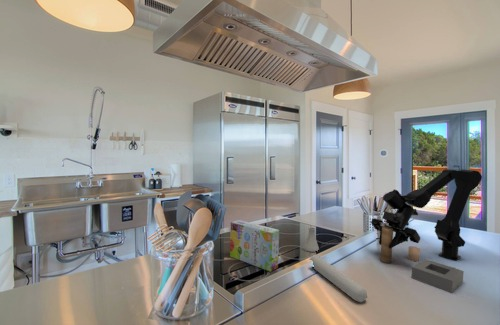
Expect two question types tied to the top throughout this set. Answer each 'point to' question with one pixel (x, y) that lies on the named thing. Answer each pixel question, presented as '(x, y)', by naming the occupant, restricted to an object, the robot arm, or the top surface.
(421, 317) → the top surface
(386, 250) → the tall pin
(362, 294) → the tube
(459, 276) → the grey square socket block
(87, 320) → the top surface
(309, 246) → the flask
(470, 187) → the robot arm
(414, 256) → the short pin
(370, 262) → the top surface
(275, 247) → the snack box
